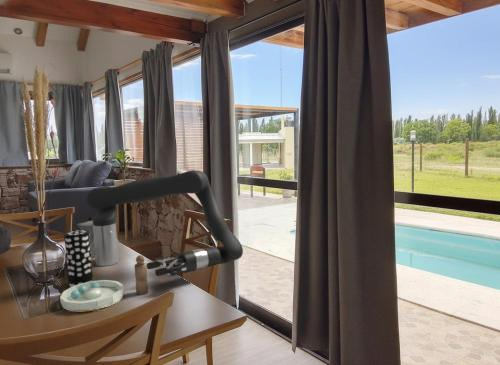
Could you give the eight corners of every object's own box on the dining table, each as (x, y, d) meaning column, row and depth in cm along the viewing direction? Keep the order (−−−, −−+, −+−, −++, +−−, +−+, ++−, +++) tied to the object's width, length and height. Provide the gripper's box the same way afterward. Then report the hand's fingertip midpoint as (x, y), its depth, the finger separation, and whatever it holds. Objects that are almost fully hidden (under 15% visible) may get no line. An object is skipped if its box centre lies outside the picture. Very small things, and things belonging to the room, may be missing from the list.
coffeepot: (74, 258, 178) (71, 219, 176) (84, 252, 188) (80, 215, 186) (107, 257, 178) (104, 218, 176) (115, 251, 187) (113, 214, 185)
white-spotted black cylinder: (69, 283, 147) (65, 231, 145) (93, 280, 150) (89, 228, 148) (68, 291, 139) (63, 236, 137) (93, 287, 142) (88, 233, 140)
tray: (88, 286, 143) (87, 276, 143) (134, 291, 138) (133, 280, 137) (48, 309, 125) (47, 297, 125) (99, 315, 120) (98, 302, 119)
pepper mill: (140, 289, 139) (137, 253, 137) (150, 290, 138) (148, 254, 136) (134, 294, 135) (131, 256, 134) (144, 295, 134) (141, 257, 132)
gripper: (184, 246, 152) (143, 254, 143) (201, 255, 140) (158, 264, 131) (185, 265, 153) (145, 274, 144) (202, 275, 141) (159, 286, 132)
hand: (151, 269), depth 138 cm, fingers open, 8 cm apart
